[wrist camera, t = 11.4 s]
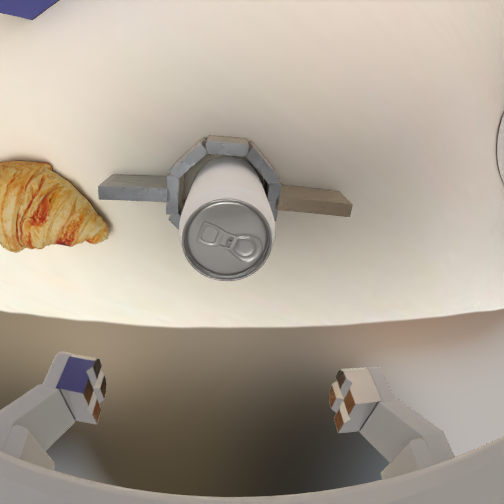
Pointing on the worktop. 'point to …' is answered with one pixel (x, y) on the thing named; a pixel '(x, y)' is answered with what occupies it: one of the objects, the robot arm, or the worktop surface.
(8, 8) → the cereal box
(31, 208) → the croissant
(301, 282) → the worktop surface
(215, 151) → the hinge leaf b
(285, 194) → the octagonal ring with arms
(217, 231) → the can
